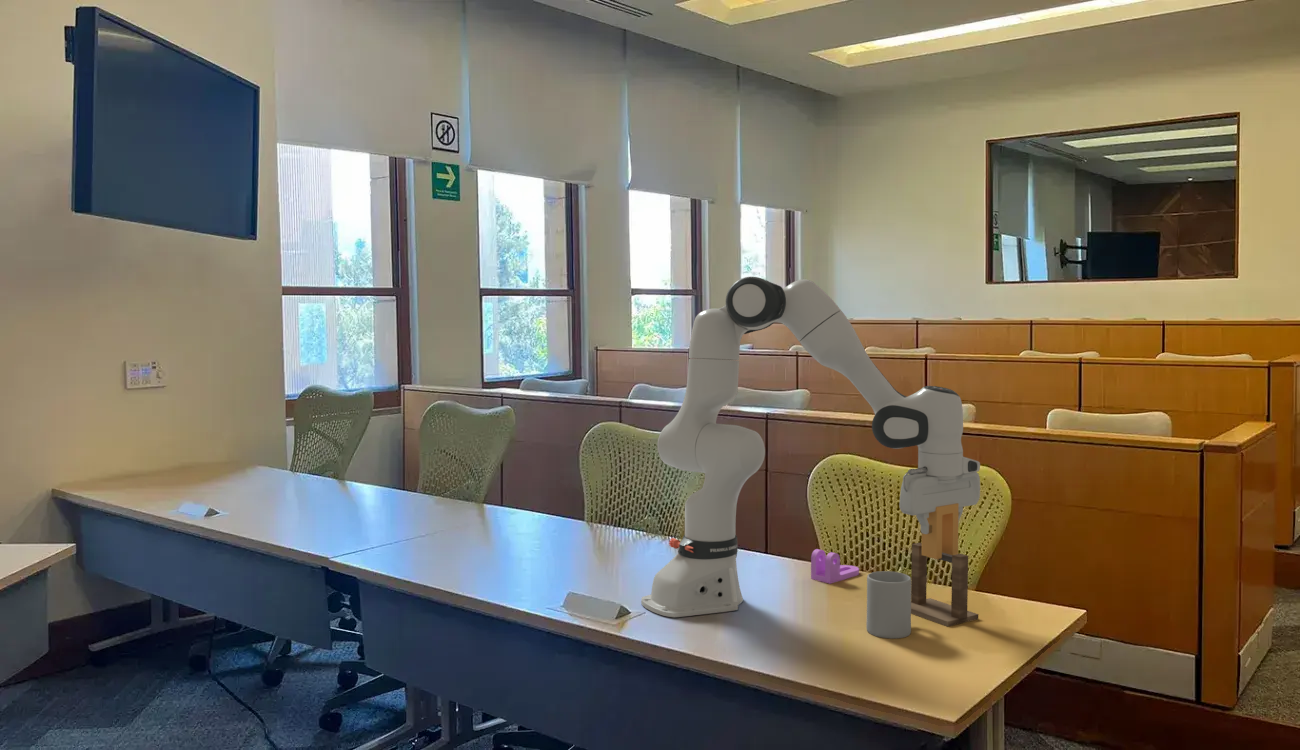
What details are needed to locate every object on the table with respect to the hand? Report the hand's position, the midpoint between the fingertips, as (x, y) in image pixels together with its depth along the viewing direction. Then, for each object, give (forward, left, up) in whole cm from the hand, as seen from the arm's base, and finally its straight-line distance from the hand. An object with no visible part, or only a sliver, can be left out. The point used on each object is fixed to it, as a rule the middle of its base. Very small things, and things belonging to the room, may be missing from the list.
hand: (939, 530), depth 196 cm
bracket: (+1, +33, -18) cm, 37 cm away
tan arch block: (0, 0, -5) cm, 5 cm away
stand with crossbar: (0, 0, -18) cm, 18 cm away
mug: (-15, -2, -18) cm, 24 cm away
